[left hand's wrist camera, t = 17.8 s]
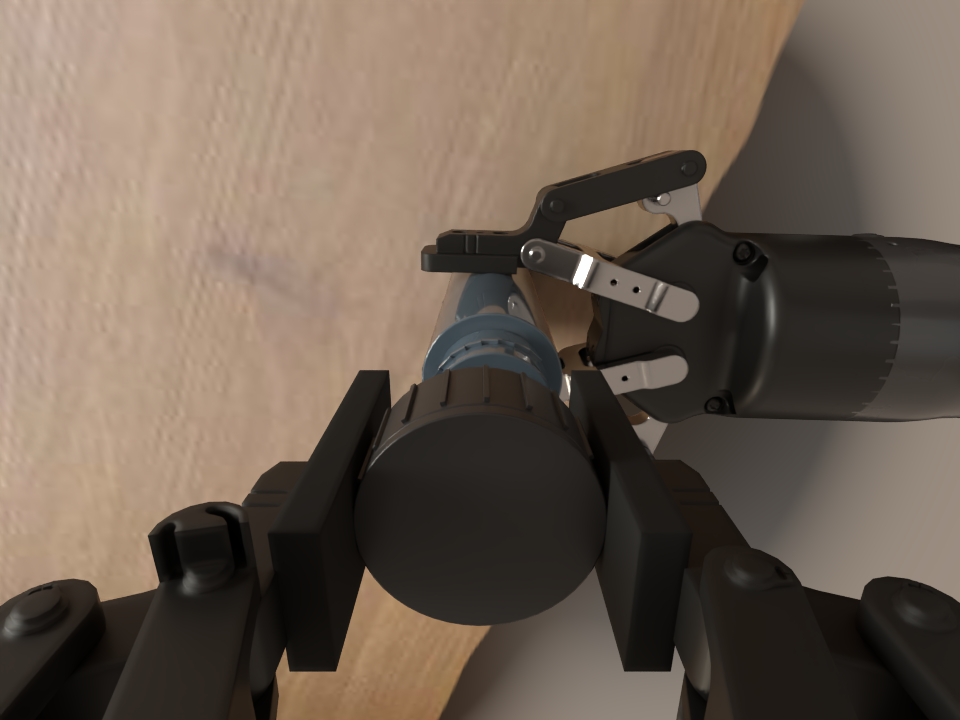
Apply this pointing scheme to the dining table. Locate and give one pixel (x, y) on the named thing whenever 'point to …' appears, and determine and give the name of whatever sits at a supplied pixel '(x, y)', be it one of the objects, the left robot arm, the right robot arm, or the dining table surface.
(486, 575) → the lid
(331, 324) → the dining table surface
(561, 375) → the bottle
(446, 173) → the dining table surface
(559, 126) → the dining table surface
